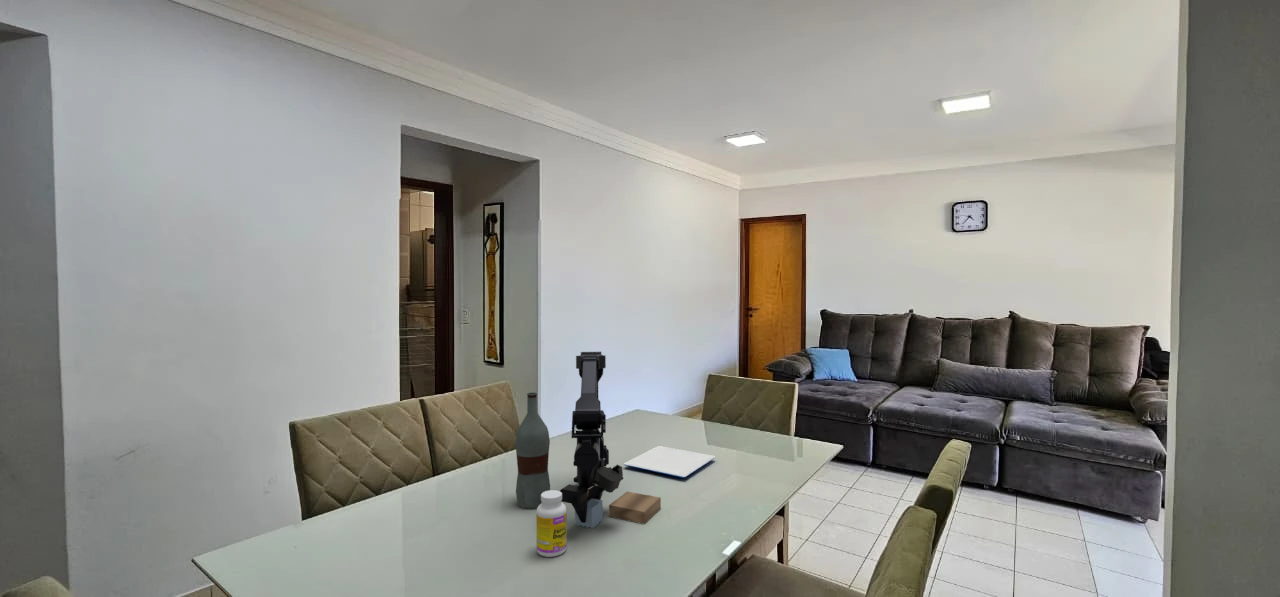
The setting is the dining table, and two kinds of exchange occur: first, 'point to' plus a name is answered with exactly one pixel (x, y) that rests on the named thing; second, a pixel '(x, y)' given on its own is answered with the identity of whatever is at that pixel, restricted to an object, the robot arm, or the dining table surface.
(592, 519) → the cube
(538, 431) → the grey bottle
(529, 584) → the dining table surface
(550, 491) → the supplement bottle
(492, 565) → the dining table surface
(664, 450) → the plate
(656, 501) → the base
